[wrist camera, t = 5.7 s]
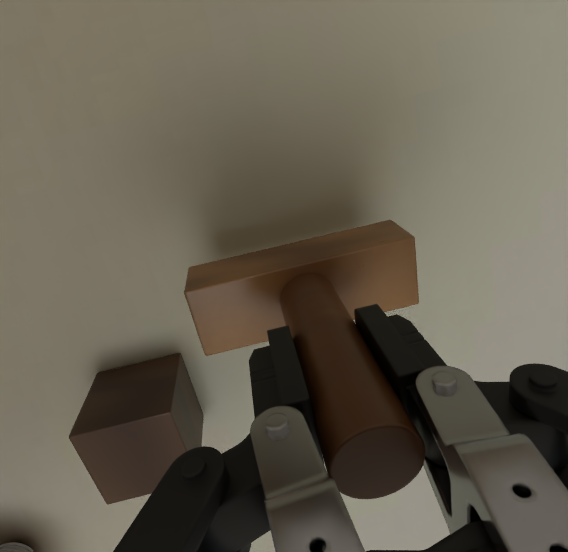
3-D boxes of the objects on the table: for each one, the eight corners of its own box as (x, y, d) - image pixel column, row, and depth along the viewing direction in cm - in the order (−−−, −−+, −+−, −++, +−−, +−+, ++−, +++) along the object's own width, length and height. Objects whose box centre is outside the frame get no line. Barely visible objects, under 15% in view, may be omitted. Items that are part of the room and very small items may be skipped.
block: (126, 434, 26) (106, 505, 22) (96, 372, 24) (67, 437, 20) (203, 415, 27) (199, 481, 22) (180, 352, 24) (170, 411, 20)
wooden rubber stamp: (207, 325, 19) (193, 561, 9) (188, 266, 18) (149, 469, 8) (396, 279, 19) (567, 460, 10) (391, 218, 18) (581, 358, 9)
